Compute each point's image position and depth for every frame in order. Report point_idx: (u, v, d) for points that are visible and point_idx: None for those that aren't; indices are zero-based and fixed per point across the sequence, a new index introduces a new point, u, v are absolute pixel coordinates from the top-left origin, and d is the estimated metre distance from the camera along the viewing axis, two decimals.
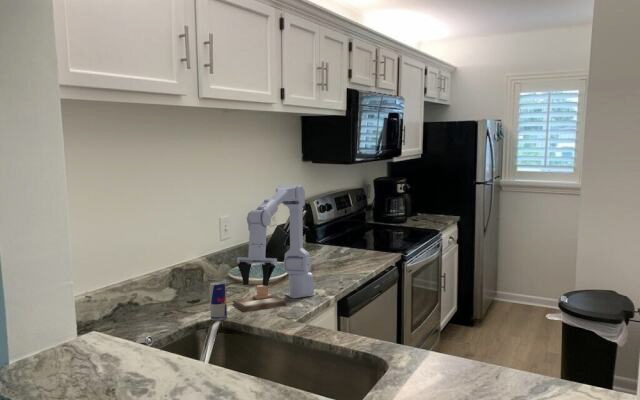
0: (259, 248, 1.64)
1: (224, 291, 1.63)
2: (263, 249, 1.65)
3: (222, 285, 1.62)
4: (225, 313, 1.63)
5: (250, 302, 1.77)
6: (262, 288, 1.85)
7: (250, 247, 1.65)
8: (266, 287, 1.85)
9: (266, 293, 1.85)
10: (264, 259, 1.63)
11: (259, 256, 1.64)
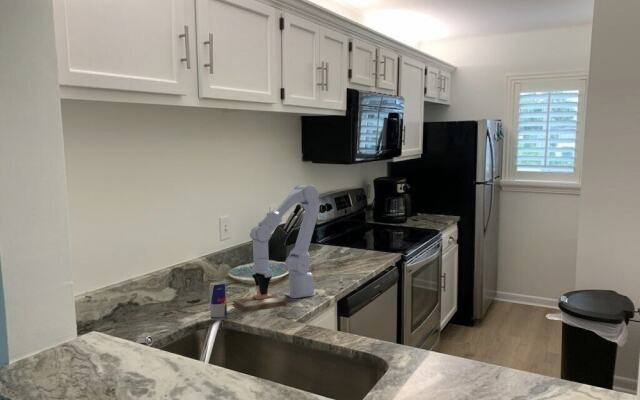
0: (258, 262, 1.83)
1: (224, 291, 1.63)
2: (262, 262, 1.83)
3: (222, 285, 1.62)
4: (225, 313, 1.63)
5: (250, 302, 1.77)
6: None
7: None
8: None
9: None
10: (260, 272, 1.81)
11: (258, 269, 1.83)
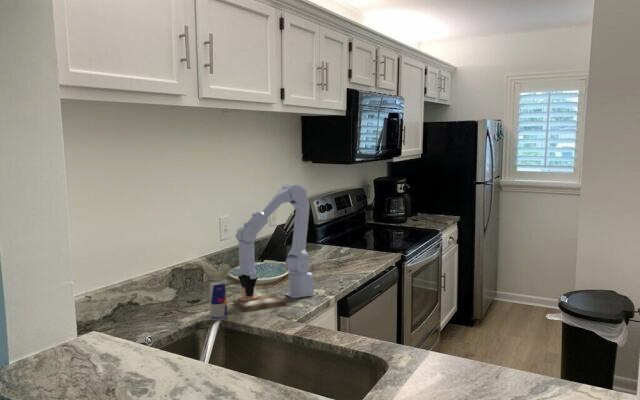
0: (243, 263, 1.81)
1: (224, 291, 1.63)
2: (247, 264, 1.80)
3: (222, 285, 1.62)
4: (225, 313, 1.63)
5: (250, 302, 1.77)
6: None
7: (239, 262, 1.83)
8: None
9: None
10: (246, 274, 1.79)
11: (244, 270, 1.81)
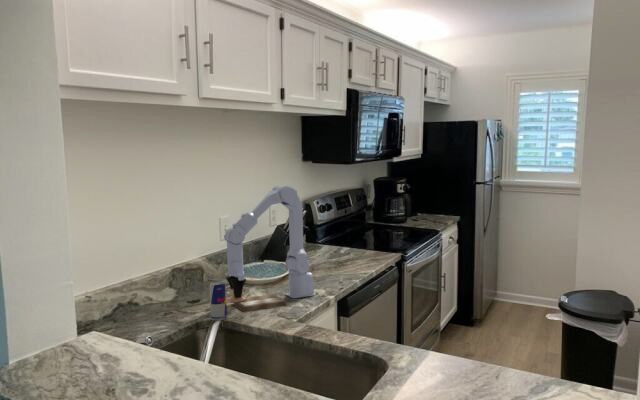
0: (231, 264, 1.79)
1: (224, 291, 1.63)
2: (235, 265, 1.79)
3: (222, 285, 1.62)
4: (225, 313, 1.63)
5: (250, 302, 1.77)
6: None
7: None
8: None
9: (241, 296, 1.81)
10: (234, 275, 1.77)
11: (232, 272, 1.79)
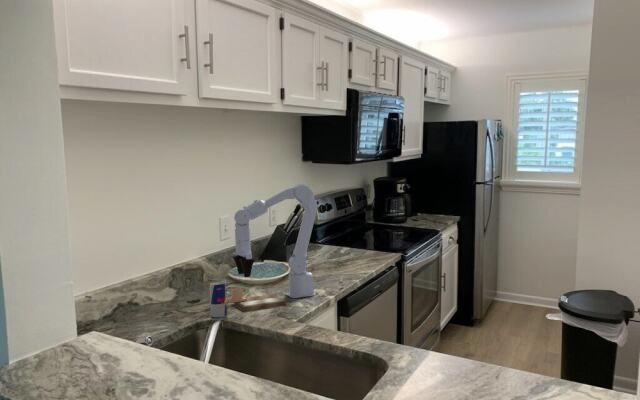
0: (239, 244, 1.88)
1: (224, 291, 1.63)
2: (243, 245, 1.88)
3: (222, 285, 1.62)
4: (225, 313, 1.63)
5: (250, 302, 1.77)
6: (236, 291, 1.80)
7: None
8: (240, 290, 1.81)
9: (240, 296, 1.81)
10: (242, 254, 1.86)
11: (240, 251, 1.88)
